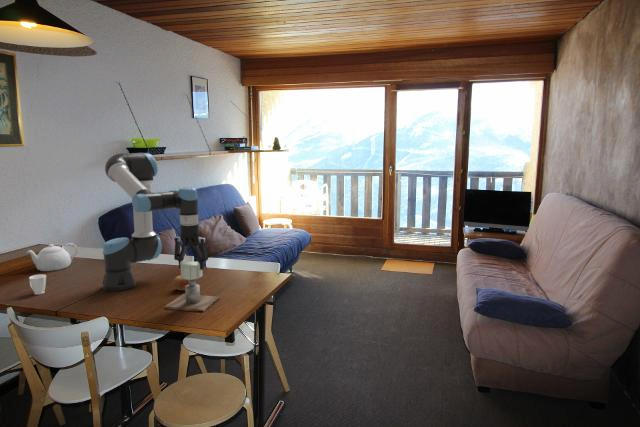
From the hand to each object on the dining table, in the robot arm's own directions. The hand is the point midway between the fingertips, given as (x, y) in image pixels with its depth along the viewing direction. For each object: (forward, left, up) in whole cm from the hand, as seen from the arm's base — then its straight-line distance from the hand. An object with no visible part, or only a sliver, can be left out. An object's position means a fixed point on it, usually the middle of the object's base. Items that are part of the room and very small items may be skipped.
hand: (192, 276), depth 190 cm
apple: (-14, +16, -13) cm, 25 cm away
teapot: (-105, +36, -13) cm, 112 cm away
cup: (-79, -2, -13) cm, 80 cm away
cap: (0, 0, 0) cm, 0 cm away
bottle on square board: (0, 0, -13) cm, 13 cm away
